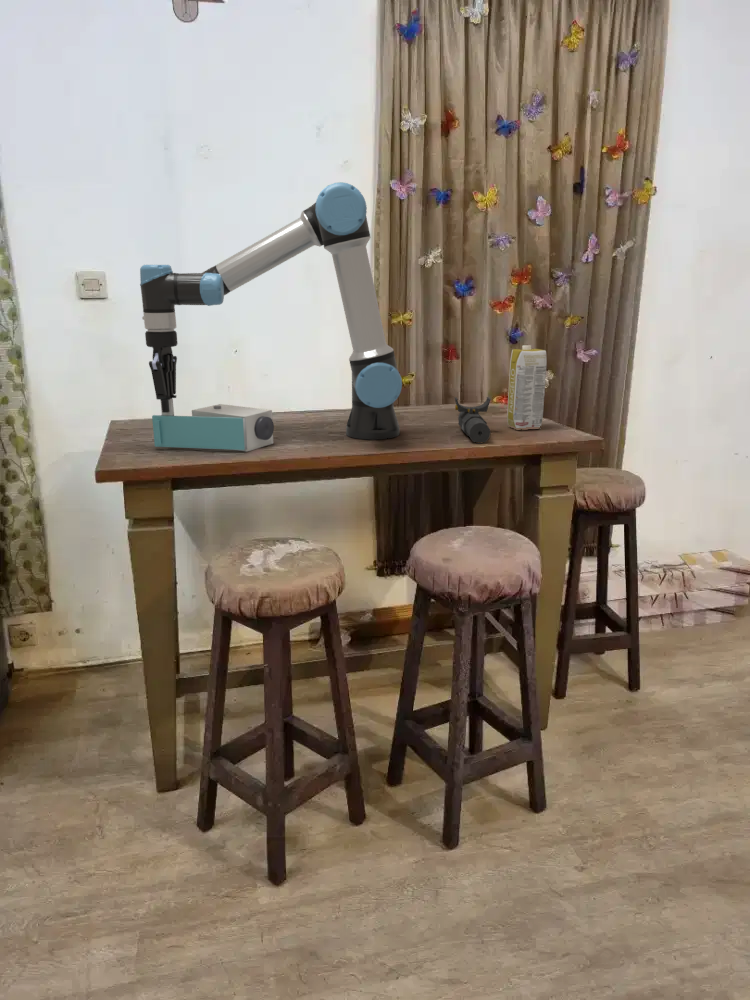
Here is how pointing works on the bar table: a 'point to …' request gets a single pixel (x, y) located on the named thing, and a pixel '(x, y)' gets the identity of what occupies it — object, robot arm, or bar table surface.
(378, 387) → the robot arm
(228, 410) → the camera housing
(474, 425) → the laser sight
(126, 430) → the bar table surface
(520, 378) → the juice carton
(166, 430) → the side door
